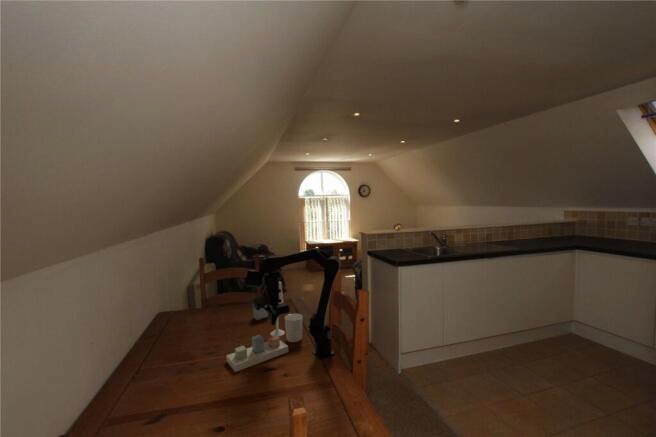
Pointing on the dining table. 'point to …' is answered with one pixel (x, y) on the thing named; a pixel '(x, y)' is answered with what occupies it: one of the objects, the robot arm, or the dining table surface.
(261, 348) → the grey rectangular block
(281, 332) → the champagne flute
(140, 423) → the dining table surface
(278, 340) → the terracotta button
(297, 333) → the white cup
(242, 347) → the pale green block
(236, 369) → the button board
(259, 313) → the medicine box
